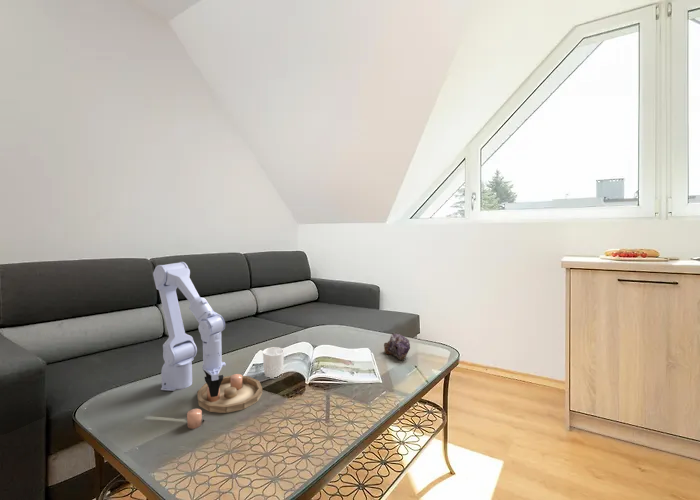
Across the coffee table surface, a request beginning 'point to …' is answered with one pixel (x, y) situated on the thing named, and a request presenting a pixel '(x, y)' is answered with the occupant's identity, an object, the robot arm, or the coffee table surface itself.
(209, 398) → the bead
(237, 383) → the bead
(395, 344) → the rock
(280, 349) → the white cup
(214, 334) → the robot arm
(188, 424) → the bead
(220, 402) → the ring tray
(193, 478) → the coffee table surface
